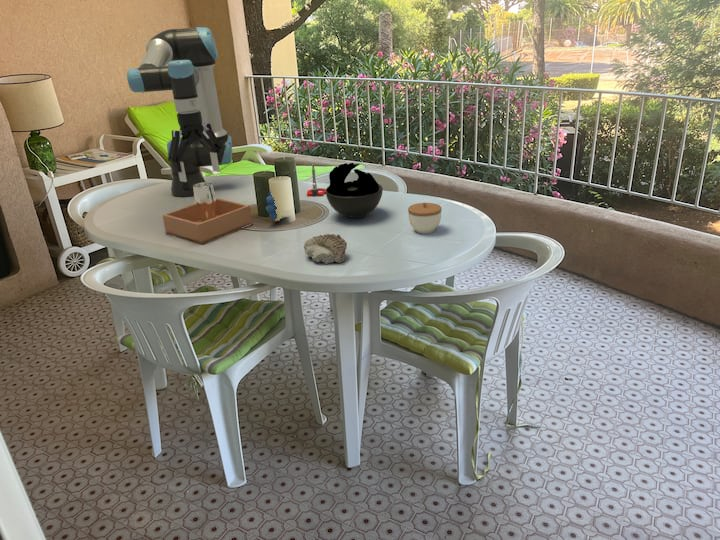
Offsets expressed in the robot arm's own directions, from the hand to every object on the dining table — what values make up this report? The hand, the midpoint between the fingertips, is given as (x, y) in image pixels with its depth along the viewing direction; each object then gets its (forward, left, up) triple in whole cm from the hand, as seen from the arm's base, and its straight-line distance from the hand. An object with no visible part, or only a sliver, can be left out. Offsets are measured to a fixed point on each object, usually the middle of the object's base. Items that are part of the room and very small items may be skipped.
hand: (200, 176), depth 186 cm
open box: (0, 0, -19) cm, 19 cm away
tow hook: (-51, +5, -19) cm, 55 cm away
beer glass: (0, 0, -18) cm, 18 cm away
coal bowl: (-36, +37, -19) cm, 55 cm away
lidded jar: (-36, +66, -19) cm, 78 cm away
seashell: (-2, +53, -19) cm, 56 cm away
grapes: (-18, +17, -19) cm, 31 cm away
